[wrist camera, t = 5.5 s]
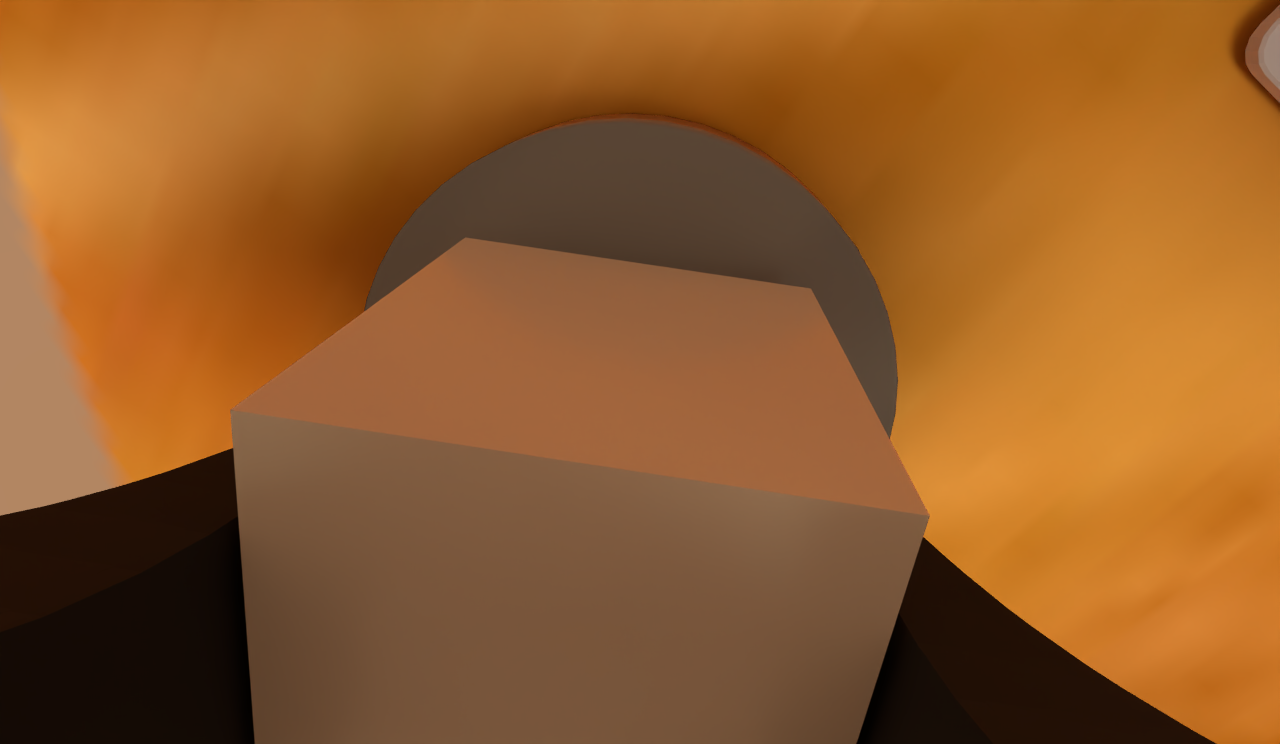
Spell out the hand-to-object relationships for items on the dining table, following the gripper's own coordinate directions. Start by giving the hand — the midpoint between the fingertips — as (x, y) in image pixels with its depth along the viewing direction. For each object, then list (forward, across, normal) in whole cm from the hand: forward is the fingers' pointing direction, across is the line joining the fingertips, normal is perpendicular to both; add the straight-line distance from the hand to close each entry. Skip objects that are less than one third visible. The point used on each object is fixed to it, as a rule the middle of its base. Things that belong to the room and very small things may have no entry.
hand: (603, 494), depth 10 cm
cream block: (+2, 0, 0) cm, 2 cm away
